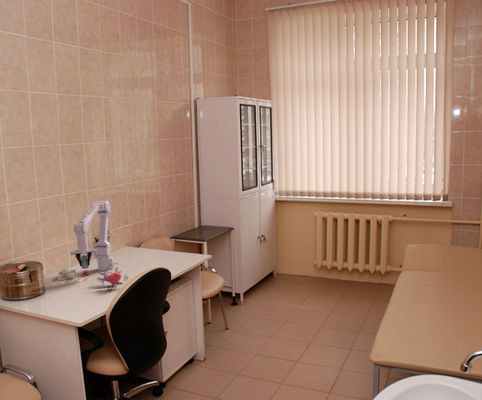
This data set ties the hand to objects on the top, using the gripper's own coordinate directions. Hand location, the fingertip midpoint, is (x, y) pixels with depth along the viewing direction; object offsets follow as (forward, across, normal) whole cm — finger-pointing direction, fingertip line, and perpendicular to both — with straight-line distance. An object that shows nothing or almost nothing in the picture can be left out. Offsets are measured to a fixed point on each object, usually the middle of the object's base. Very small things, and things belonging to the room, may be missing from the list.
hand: (84, 265), depth 280 cm
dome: (+9, -12, +8) cm, 17 cm away
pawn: (+1, 0, 0) cm, 1 cm away
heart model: (+10, +15, -19) cm, 26 cm away
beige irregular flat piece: (+9, -7, +4) cm, 12 cm away
